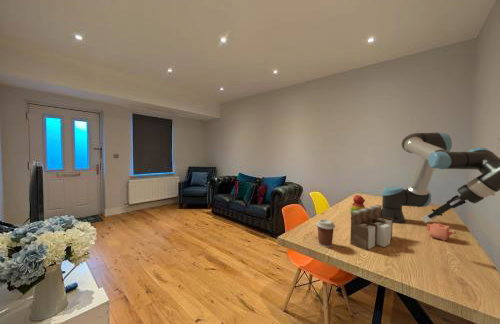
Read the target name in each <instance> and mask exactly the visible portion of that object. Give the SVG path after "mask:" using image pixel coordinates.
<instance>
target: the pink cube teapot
mask: <svg viewBox="0 0 500 324" xmlns="http://www.w3.org/2000/svg"><path fill="white" fill-rule="evenodd" d="M450 229H451V228H450V225H445V224H442V223H435V222H433V223H432V224H430V223H426V231H429V237H430V238H432V239H438V240H439V239H440V240H441V241H442V242H446V241H447V240H448V239H449V238H450V236H452V235H456V234H457V232H456V231H455V230H452V231H450Z"/></svg>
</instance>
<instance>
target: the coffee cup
mask: <svg viewBox="0 0 500 324" xmlns="http://www.w3.org/2000/svg"><path fill="white" fill-rule="evenodd" d="M315 226H316V227H317V235H318V236H317V237H318V245H320V247H321V246H322V247H325V248H330V247H332V246H333V237H334V230H335V228H336V225H335V224H334V222H333V221H332V220H330V219H319V220H318V221H317V222H316V225H315Z"/></svg>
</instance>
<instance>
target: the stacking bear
mask: <svg viewBox="0 0 500 324" xmlns="http://www.w3.org/2000/svg"><path fill="white" fill-rule="evenodd" d="M352 198H353V201H352V202H353V203H351V205H350V213H351V212H352V211H356V210H360V209H363V208H366V207H365V204H364V203H365V201H366V200H365V199H364V197H363V196H362V195H358V194H356V195H355V196H354V197H352Z"/></svg>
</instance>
